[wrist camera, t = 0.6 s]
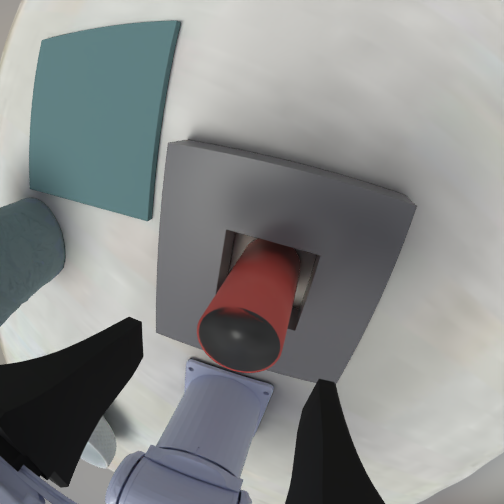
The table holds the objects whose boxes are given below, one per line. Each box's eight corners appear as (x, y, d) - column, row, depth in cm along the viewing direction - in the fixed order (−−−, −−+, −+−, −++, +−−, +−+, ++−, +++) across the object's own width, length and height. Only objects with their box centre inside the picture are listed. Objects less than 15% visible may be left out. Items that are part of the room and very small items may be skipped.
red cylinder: (291, 297, 21) (270, 382, 14) (236, 282, 22) (193, 357, 15) (307, 246, 19) (292, 320, 12) (247, 230, 20) (200, 293, 13)
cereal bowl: (30, 347, 36) (2, 373, 29) (110, 385, 32) (80, 424, 26) (66, 414, 43) (46, 439, 36) (140, 450, 39) (122, 482, 33)
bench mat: (151, 218, 21) (147, 221, 21) (34, 187, 23) (29, 188, 23) (180, 22, 15) (176, 20, 15) (46, 40, 17) (41, 40, 16)
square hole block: (335, 364, 23) (334, 390, 20) (169, 314, 25) (154, 334, 22) (405, 195, 17) (418, 207, 14) (186, 139, 18) (165, 143, 16)
